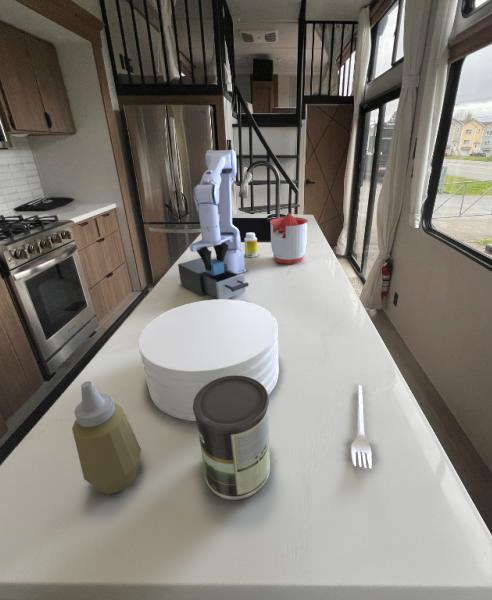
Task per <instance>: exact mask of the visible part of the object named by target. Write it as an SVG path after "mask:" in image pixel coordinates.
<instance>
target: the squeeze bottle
mask: <svg viewBox="0 0 492 600" xmlns="http://www.w3.org/2000/svg"><path fill="white" fill-rule="evenodd" d="M80 389H81V401H80V402H79V403H78V404H77V406H76V407H75V409H74V411H73V412H74V416H75V418H76V419H75V420H74V422H73V424H72V427H71V429H72V430H71V431H72V434H73V438H74V442H75V446H76V447H75V448H76V452H77V455H78V459H79V463H80V468H81V472H82V476H83V480H84V481H86V482H87V483H88V484H90V485H91V486H92V487H94V488H95V489H97V490H98V491H100V492H101V493H103V494H108V495H109V494H111V495H112V494H116V493H119V492H121V491H123V490H124V489H127V488H128V487H129V486H130V485H131V484H132V483H133V482H134V481H135V479H136V477H137V476H138V473H139V467H140V462H141V455H142V448H141V446H140V443H139V441H138V439H137V437H136V434H135V433H134V431H133V428H132V426H131V424H130V421H129V420H128V417H127V415H126V413H125V411H124V409H123V406H121V405H119V404H117V403H114V399H113V398H112V396H110V395H109V394H106V393H100V392H99V391H98V389H97V388H96V386H95V385H94V384H93V383H92V381H90V380H87V381H84V382H83V383H81V387H80Z"/></svg>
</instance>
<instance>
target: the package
mask: <svg viewBox="0 0 492 600" xmlns="http://www.w3.org/2000/svg"><path fill="white" fill-rule="evenodd" d="M211 259H212V260H211V271H208V270H206V268H205V271H206V272H207V273H209V274H212V275H214V276H215V275H218V274H221V273H224V262H222V261H219V260H217V258H211Z"/></svg>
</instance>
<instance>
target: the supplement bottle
mask: <svg viewBox="0 0 492 600" xmlns="http://www.w3.org/2000/svg"><path fill="white" fill-rule="evenodd" d="M258 252H259V251H258V238H257V237H256V233H255V232H246V233H245V237H244V253H245V254H244V256H245V257H247V258H255V257H258V254H259V253H258Z"/></svg>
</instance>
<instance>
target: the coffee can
mask: <svg viewBox="0 0 492 600" xmlns="http://www.w3.org/2000/svg"><path fill="white" fill-rule="evenodd" d="M269 399H270V398H269V395H268V393H267V391H266V389H265V387H264V386H263V385H262V384H261V383H260V382H258V381H256V380H255V379H252V378H249V377H246V376H238V375H234V376H226V377H221V378H218V379H215V380H213V381H211V382H210V383H208V384H206V385H205V386H204V387H203V388H202V389H201V390H200V391H199V392H198V393H197V395H196V396H195V399H194V402H193V411H194V415H195V418H196V421H195V423H196V428H197V429H196V430H197V435H198V440H199V446H200V453H201V457H202V464H203V469H204V478H205V482H206V484H207V486H208V488H209V489H210V491H212V493H213V494H215V495H217V496H218V497H220V498H222V499H224V500H225V499H226V500H233V501H236V500H244V499H246V498H249V497H251V496H253V495H255V494H256V493H258V492H259V491H260V490H261V489H262V488H263V487H264V486H265V484H266V482H267V481H268V479H269V476H270V474H271V473H270V472H271V459H270V433H269V431H270V430H269Z"/></svg>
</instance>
